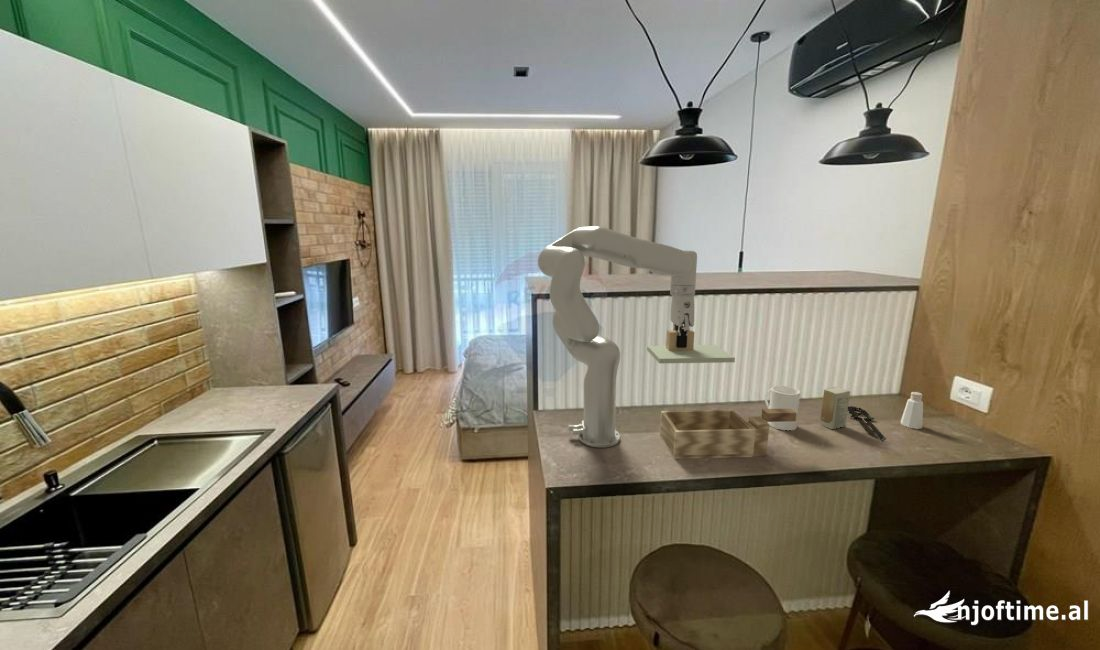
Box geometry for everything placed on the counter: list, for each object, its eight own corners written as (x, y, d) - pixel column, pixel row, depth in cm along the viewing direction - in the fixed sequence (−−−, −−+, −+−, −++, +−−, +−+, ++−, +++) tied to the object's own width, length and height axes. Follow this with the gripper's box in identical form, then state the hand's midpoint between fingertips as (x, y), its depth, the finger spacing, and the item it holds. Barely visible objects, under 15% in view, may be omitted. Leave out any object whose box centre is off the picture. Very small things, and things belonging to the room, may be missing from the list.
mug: (754, 416, 142) (757, 383, 139) (776, 414, 143) (780, 381, 141) (779, 432, 130) (783, 395, 128) (803, 429, 132) (807, 393, 129)
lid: (659, 363, 127) (660, 339, 125) (647, 350, 141) (647, 328, 140) (734, 362, 127) (736, 338, 125) (714, 349, 142) (716, 327, 140)
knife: (887, 443, 123) (888, 439, 123) (861, 439, 126) (861, 435, 126) (866, 411, 146) (867, 407, 145) (844, 408, 148) (845, 404, 148)
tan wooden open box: (674, 458, 115) (676, 426, 113) (659, 435, 129) (661, 406, 127) (767, 456, 116) (770, 424, 114) (742, 433, 130) (745, 404, 128)
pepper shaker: (897, 424, 134) (903, 392, 132) (902, 420, 138) (908, 388, 135) (919, 430, 130) (925, 397, 128) (924, 426, 133) (930, 393, 131)
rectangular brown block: (767, 421, 115) (767, 413, 115) (761, 417, 118) (762, 409, 118) (795, 421, 116) (796, 412, 115) (789, 416, 118) (790, 408, 118)
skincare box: (833, 421, 137) (838, 386, 135) (846, 427, 133) (851, 390, 131) (818, 424, 135) (823, 388, 133) (831, 430, 131) (836, 393, 129)
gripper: (704, 293, 125) (700, 352, 128) (685, 286, 141) (682, 339, 144) (679, 293, 125) (675, 353, 128) (663, 287, 141) (661, 340, 144)
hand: (679, 345), depth 136 cm, fingers closed on lid, 3 cm apart
